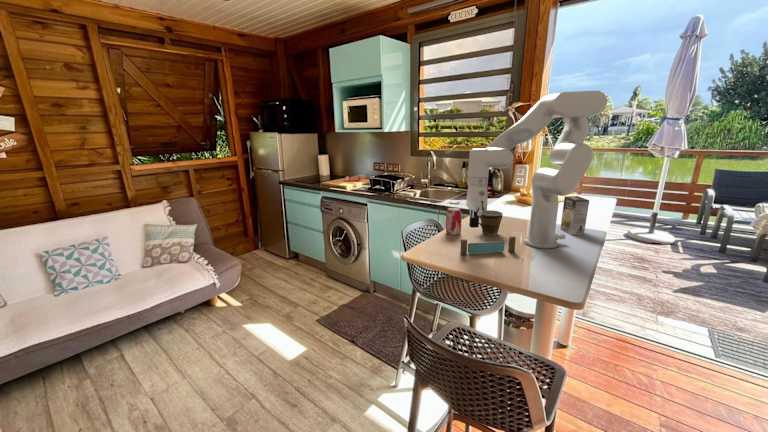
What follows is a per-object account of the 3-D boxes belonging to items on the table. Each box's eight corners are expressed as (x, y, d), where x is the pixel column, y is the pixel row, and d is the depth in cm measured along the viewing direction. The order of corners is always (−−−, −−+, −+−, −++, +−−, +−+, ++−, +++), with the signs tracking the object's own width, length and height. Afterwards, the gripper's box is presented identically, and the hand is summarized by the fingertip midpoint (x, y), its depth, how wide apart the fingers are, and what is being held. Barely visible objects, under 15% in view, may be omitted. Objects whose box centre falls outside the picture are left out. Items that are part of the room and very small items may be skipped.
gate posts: (512, 250, 121) (513, 235, 120) (515, 252, 119) (517, 237, 117) (459, 253, 119) (460, 239, 118) (461, 255, 117) (462, 241, 115)
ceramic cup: (499, 230, 145) (501, 210, 143) (502, 237, 136) (504, 216, 133) (471, 229, 148) (472, 209, 146) (472, 236, 139) (473, 215, 136)
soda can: (461, 236, 139) (462, 210, 136) (445, 235, 141) (446, 210, 138) (460, 231, 146) (461, 207, 143) (445, 230, 148) (446, 206, 144)
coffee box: (559, 229, 145) (563, 196, 141) (573, 228, 145) (577, 195, 141) (570, 235, 136) (575, 200, 132) (585, 234, 136) (590, 199, 132)
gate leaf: (501, 250, 120) (502, 240, 119) (503, 251, 119) (504, 241, 118) (467, 252, 119) (468, 242, 118) (469, 253, 117) (469, 244, 116)
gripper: (495, 184, 109) (491, 232, 114) (479, 178, 124) (475, 221, 129) (475, 184, 109) (471, 233, 113) (461, 178, 123) (458, 222, 128)
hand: (473, 226), depth 121 cm, fingers closed
